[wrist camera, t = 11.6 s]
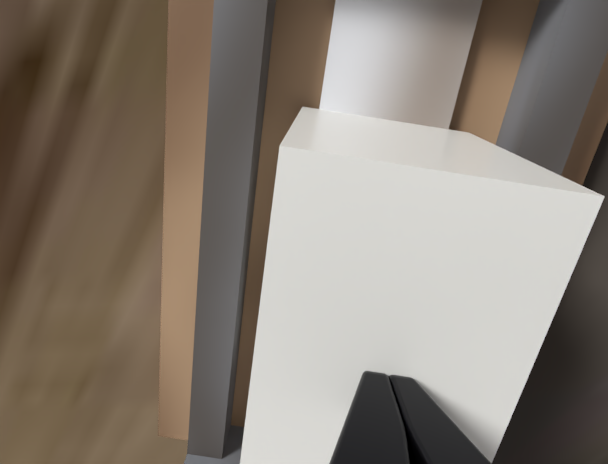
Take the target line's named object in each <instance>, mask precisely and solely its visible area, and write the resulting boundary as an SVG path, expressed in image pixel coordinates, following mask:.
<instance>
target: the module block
mask: <svg viewBox="0 0 608 464" xmlns="http://www.w3.org/2000/svg"><path fill="white" fill-rule="evenodd" d="M604 197H605V196H603V195H601V194H598V193H596V192H594V191H592V190H590V189H588V188H586V187H584V186H581V185H579V184H577V183H575V182H573V181H571V180H569V179H567V178H564V177H562V176H560V175H558V174H556V173H554V172H552V171H550V170H547V169H545V168H543V167H541V166H539V165H537V164H535V163H533V162H530V161H528V160H526V159H524V158H522V157H520V156H518V155H516V154H513V153H511V152H509V151H507V150H505V149H503V148H501V147H499V146H496V145H494V144H492V143H490V142H488V141H486V140H484V139H482V138H479V137H477V136H475V135H473V134H471V133H469V132H462V131H456V130H450V129H443V128H437V127H430V126H424V125H418V124H411V123H405V122H399V121H392V120H386V119H379V118H373V117H367V116H360V115H354V114H348V113H341V112H335V111H328V110H322V109H316V108H309V107H302V108H301V110H300V112H299V113H298V115H297V117H296V118H295V120H294V122H293V124H292V125H291V127H290V129H289V130H288V132H287V134H286V135H285V137H284V139H283V141H282V142H281V144H280V146H279V154H278V162H277V170H276V178H275V186H274V194H273V202H272V210H271V218H270V226H269V234H268V242H267V250H266V258H265V266H264V274H263V282H262V290H261V298H260V306H259V314H258V322H257V330H256V338H255V346H254V354H253V362H252V370H251V378H250V386H249V394H248V402H247V410H246V418H245V426H244V434H243V442H242V450H241V458H240V464H329V463H330V460H331V457H332V455H333V452H334V449H335V447H336V444H337V441H338V438H339V436H340V433H341V430H342V428H343V425H344V422H345V419H346V417H347V414H348V411H349V409H350V406H351V403H352V401H353V398H354V395H355V392H356V390H357V387H358V384H359V382H360V379H361V376H362V374H363V372H364V371H373V372H379V373H384V374H386V375H387V376H389V375H399V376H406V377H411V378H413V379H414V380H415V381H416V382H417V383H418V384H419V385H420V386H421V387H422V388H423V389H424V390H425V391H426V393H427V394H428V395H429V396H430V397H431V398H432V399H433V400H434V401H435V402H436V404H437V405H438V406H439V407H440V408H441V409H442V410H443V411H444V412H445V413H446V414H447V416H448V417H449V418H450V419H451V420H452V421H453V422H454V423H455V424H456V425H457V426H458V428H459V429H460V430H461V431H462V432H463V433H464V434H465V435H466V436H467V437H468V438H469V440H470V441H471V442H472V443H473V444H474V445H475V446H476V447H477V448H478V449H479V450H480V452H481V453H482V454H483V455H484V456H485V457H486V458H487V459H488V460H489V461H490V463H491V464H492V462H493V459H494V457H495V454H496V452H497V450H498V447H499V445H500V443H501V440H502V438H503V436H504V433H505V431H506V428H507V426H508V424H509V421H510V419H511V417H512V414H513V412H514V410H515V407H516V405H517V402H518V400H519V398H520V395H521V393H522V391H523V388H524V386H525V384H526V381H527V379H528V376H529V374H530V372H531V369H532V367H533V365H534V362H535V360H536V358H537V355H538V353H539V350H540V348H541V346H542V343H543V341H544V339H545V336H546V334H547V332H548V329H549V327H550V325H551V322H552V320H553V317H554V315H555V313H556V310H557V308H558V306H559V303H560V301H561V299H562V296H563V294H564V291H565V289H566V287H567V284H568V282H569V280H570V277H571V275H572V273H573V270H574V268H575V265H576V263H577V261H578V258H579V256H580V254H581V251H582V249H583V247H584V244H585V242H586V239H587V237H588V235H589V232H590V230H591V228H592V225H593V223H594V221H595V218H596V216H597V213H598V211H599V209H600V206H601V204H602V202H603V199H604Z"/></svg>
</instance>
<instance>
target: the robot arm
mask: <svg viewBox="0 0 608 464" xmlns="http://www.w3.org/2000/svg"><path fill="white" fill-rule="evenodd" d="M329 464H491V463H490V461H489V460H488V459H487V458H486V457H485V456H484V455H483V454H482V453H481V452H480V450H479V449H478V448H477V447H476V446H475V445H474V444H473V443H472V442H471V441H470V440H469V438H468V437H467V436H466V435H465V434H464V433H463V432H462V431H461V430H460V429H459V428H458V426H457V425H456V424H455V423H454V422H453V421H452V420H451V419H450V418H449V417H448V416H447V414H446V413H445V412H444V411H443V410H442V409H441V408H440V407H439V406H438V405H437V404H436V402H435V401H434V400H433V399H432V398H431V397H430V396H429V395H428V394H427V393H426V391H425V390H424V389H423V388H422V387H421V386H420V385H419V384H418V383H417V382H416V381H415V380H414V379H413V378H411V377H406V376H399V375H389V376H387V375H386V374H384V373H379V372H373V371H364V372H363V374H362V376H361V379H360V382H359V384H358V387H357V390H356V392H355V395H354V398H353V401H352V403H351V406H350V409H349V411H348V414H347V417H346V419H345V422H344V425H343V428H342V430H341V433H340V436H339V438H338V441H337V444H336V447H335V449H334V452H333V455H332V457H331V460H330V463H329Z"/></svg>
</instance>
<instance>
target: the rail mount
mask: <svg viewBox="0 0 608 464" xmlns="http://www.w3.org/2000/svg"><path fill="white" fill-rule="evenodd" d="M302 107H309V108H316V109H322V110H328V111H335V112H341V113H348V114H354V115H360V116H367V117H373V118H379V119H386V120H392V121H399V122H405V123H411V124H418V125H424V126H430V127H437V128H443V129H450V130H456V131H462V132H469V133H471V134H473V135H475V136H477V137H479V138H482V139H484V140H486V141H488V142H490V143H492V144H494V145H496V146H499V147H501V148H503V149H505V150H507V151H509V152H511V153H513V154H516V155H518V156H520V157H522V158H524V159H526V160H528V161H530V162H533V163H535V164H537V165H539V166H541V167H543V168H545V169H547V170H550V171H552V172H554V173H556V174H558V175H560V176H562V177H564V178H567V179H569V180H571V181H573V182H575V183H577V184H579V185H581V186H582V185H583V183H584V180H585V177H586V175H587V172H588V170H589V167H590V165H591V162H592V160H593V157H594V155H595V152H596V150H597V147H598V145H599V142H600V140H601V137H602V135H603V132H604V130H605V127H606V125H607V122H608V0H168V41H167V83H166V124H165V166H164V208H163V249H162V291H161V333H160V374H159V416H158V436H161V437H168V438H175V439H181V440H188V450H187V456H186V459H185V462H184V464H240V458H241V450H242V442H243V434H244V426H245V418H246V410H247V402H248V394H249V386H250V378H251V370H252V362H253V354H254V346H255V338H256V330H257V322H258V314H259V306H260V298H261V290H262V282H263V274H264V266H265V258H266V250H267V242H268V234H269V226H270V218H271V210H272V202H273V194H274V186H275V178H276V170H277V162H278V154H279V146H280V144H281V142H282V141H283V139H284V137H285V135H286V134H287V132H288V130H289V129H290V127H291V125H292V124H293V122H294V120H295V118H296V117H297V115H298V113H299V112H300V110H301V108H302Z"/></svg>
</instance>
